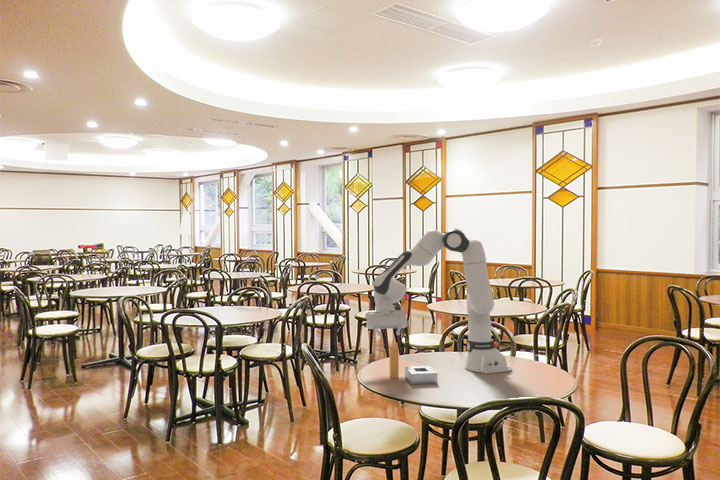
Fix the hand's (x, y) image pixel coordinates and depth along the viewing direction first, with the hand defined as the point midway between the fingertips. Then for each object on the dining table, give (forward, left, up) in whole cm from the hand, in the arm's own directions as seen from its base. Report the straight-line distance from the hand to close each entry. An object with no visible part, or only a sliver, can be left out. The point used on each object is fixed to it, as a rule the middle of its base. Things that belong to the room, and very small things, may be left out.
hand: (388, 334), depth 257 cm
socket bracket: (-11, +19, -17) cm, 28 cm away
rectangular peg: (0, +12, -17) cm, 21 cm away
